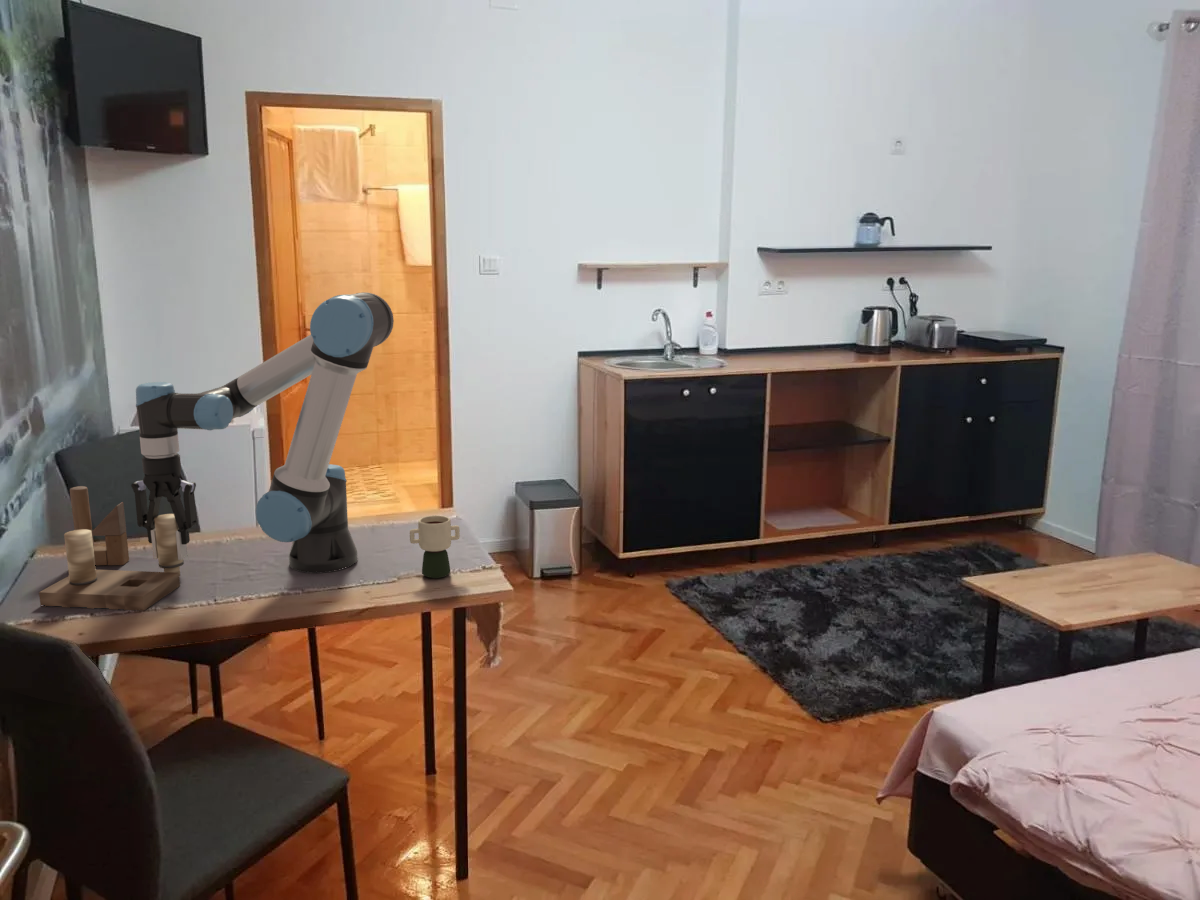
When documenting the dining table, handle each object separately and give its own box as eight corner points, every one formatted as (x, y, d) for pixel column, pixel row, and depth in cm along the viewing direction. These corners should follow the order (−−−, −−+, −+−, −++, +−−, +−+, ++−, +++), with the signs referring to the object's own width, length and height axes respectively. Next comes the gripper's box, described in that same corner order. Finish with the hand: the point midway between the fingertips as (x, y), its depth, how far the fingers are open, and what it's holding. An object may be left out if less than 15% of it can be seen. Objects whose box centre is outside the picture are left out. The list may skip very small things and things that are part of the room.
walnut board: (180, 585, 207) (174, 525, 204) (144, 610, 193) (137, 546, 190) (82, 582, 208) (75, 522, 206) (40, 606, 195) (32, 542, 192)
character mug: (458, 568, 219) (456, 513, 216) (463, 578, 212) (461, 522, 209) (409, 572, 215) (407, 517, 213) (413, 583, 209) (411, 526, 206)
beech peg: (189, 572, 215) (183, 514, 212) (177, 579, 210) (171, 520, 207) (167, 571, 216) (161, 513, 213) (155, 579, 211) (149, 519, 208)
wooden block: (123, 565, 219) (115, 489, 215) (74, 566, 218) (65, 490, 214) (130, 560, 223) (122, 485, 219) (81, 561, 222) (73, 485, 218)
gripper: (209, 451, 210) (218, 553, 215) (130, 449, 211) (141, 550, 216) (192, 459, 202) (201, 564, 208) (110, 457, 204) (122, 561, 209)
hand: (170, 557), depth 212 cm, fingers closed on beech peg, 5 cm apart
